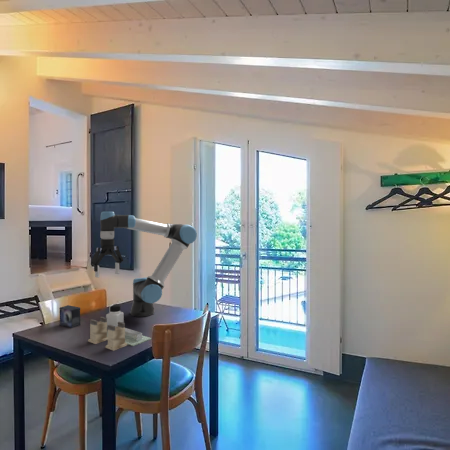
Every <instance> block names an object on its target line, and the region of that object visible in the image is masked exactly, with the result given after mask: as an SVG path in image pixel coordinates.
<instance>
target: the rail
mask: <svg viewBox="0 0 450 450" xmlns="http://www.w3.org/2000/svg"><path fill="white" fill-rule="evenodd" d="M113 326H115V327H117V325H113ZM142 335H143V332H142V331H141V332H140V331H137V330H133V329H131V328H127V327H125V338H127V339H130V340H133V341H136V342H138V341H140V340H142Z"/></svg>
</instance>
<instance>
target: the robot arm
mask: <svg viewBox="0 0 450 450" xmlns="http://www.w3.org/2000/svg"><path fill="white" fill-rule="evenodd" d="M99 221H100V234H99V235H100V238H101V239H100V247H95V252H94V254H93V257H92V259H91V262H90V265H91V266H93V271H94V272H95V273H94V276H95V277H94V278H100V265H99V264H100V263H101V262H102V260H103V258H104V257H105V256H108V255H110V256H111V257H112V258H113V259H114V261H115V263H114V264H115V265H114V267H115V268H114V269H115V270H114V272H115V273H114V274H116V275H120V268H121V264H122V262H124V258H123V257H122V254H121V251H120V248H119V246H117V245H115V239H114V238H115V229H123V228H124V229H127V230H132V231H137V232H138V231H139V232H143V233H148V234H154V235H158V236H163V238H166V239H169V240H170V239H171V243H170V245H169V246H168V248H167V250H166V252H165V253H164V255H163V257H162V258H161V260H160V261H159V263H158V264H157V266H156V268H155V269H154V271H153V273H152V274H151V275H150V276H147V277H137V278H134V279H133V282H132V287H133V288H132V300H133V301H132V305H131V308H130V316H133V317H141V318H143V317H149V316H152V315H154V314H155V308H154V305H153V304H154V303H157V302H159V301H160V299H161V298H162V296H163V289H164V287H165V283H164V282H165V281H166V280H167V278H168V276H169V274H171V273H170V272H171V271H172V270H173V268H174V266H175V264H176V262H177V261H178V259H179V258H180V256H181V254H182V253H183V251H184V250H187V249H188V247H189V246H190V244H193V243H194V242H195V241H196V239H197V237H198V234H197V230H196V228H195V227H194V226H192V225H190V224H187V223H186V224H183V223H178V224H177V223H176V224H175V223H160V222H155V221H152V220H151V221H150V220H146V219H142V218H137V217H135V215H133V214H132V215H131V214H115V212H114V211H101V213H100V219H99Z"/></svg>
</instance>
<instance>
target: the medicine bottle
mask: <svg viewBox="0 0 450 450" xmlns="http://www.w3.org/2000/svg"><path fill="white" fill-rule="evenodd" d="M108 310H109V312H108V313H107V314H105V318H107V328H108V325H117V326H118V322H123V323H125V320H124V319H125V318H124V316H125V315H124V312H123V311H121V304H118V303H113V304H110V305H109V309H108Z"/></svg>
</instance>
